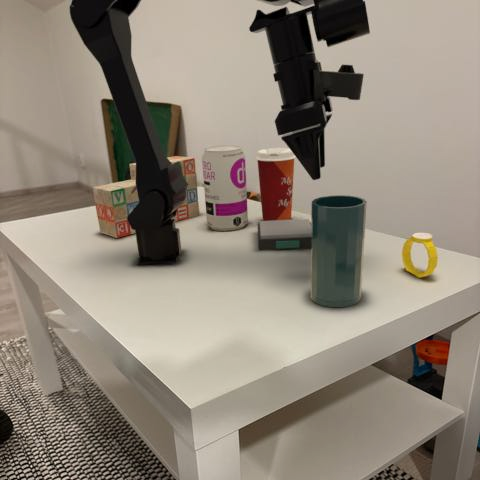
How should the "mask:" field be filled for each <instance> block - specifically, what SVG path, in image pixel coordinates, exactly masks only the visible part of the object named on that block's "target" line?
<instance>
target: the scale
mask: <svg viewBox="0 0 480 480" xmlns="http://www.w3.org/2000/svg"><path fill="white" fill-rule="evenodd" d="M257 242H258V244H257V245H258V251H270V250H271V251H273V250H294V249H297V250H299V249H311V221H310V219H309V218H301V219H300V218H299V219H297V218H296V219H291V220H273V221H263V220H259V223H258V224H257Z"/></svg>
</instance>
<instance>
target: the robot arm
mask: <svg viewBox="0 0 480 480" xmlns="http://www.w3.org/2000/svg"><path fill="white" fill-rule="evenodd" d="M257 1H258V2H261V3H264V4H267V5H270V6H274V7H280V6H284V7H281V8H279V9H276V10H273V11H271V12H268V13H265V12H263V11H262V10H260V9H257V10H256V12H255V16H254V19H253V21H251V24H250V25H249V28H248V29H249V32H250V33H252V34H259V33H262V32H265V35H266V39H267V44H268V47H269V52H270V55H271V60H272V65H273V69H274V73H273V74H272V75H273V79H274V82H275V83H277V85H278V91H279V94H280V98H281V102H282V104H281V105H280V109H281V110H280V111H279V112H278V114H277V116H276V118H275V119H274V125H275V128H276V132H277V136H281V140H282V142H284V144H286V146H287V148H290V150H291V151H292V152H293V154H294V155H295V156H296V158H295V159H297V160H298V161H299V163H300V164H301V166H302V167H303V168H304V170H305V171H306V173H307V174H308V175H309V177H310V178H311V180H313V181H316V180H320V179H321V178H322V173H321V168H324V167H325V166H326V141H325V140H326V139H325V138H326V136H325V135H326V134H325V132H326V131H325V129H326V127H327V126H328V123H329V122H330V120H331V118H332V117H333V113H331V112H333V110H334V109H333V105H332V101H331V98H343V99H345V98H347V99H348V100H350V101H360V100H361V94H362V89H363V83H364V82H363V81H364V77H365V74H364V73H360V72H355V71H356V70H355V68H354V65H353V64H341V66H340V67H339V68H338V70H337V71H334V70H333V71H330V70H323V69H322V68H323V67H322V64H321V61H318V59H317V57H316V52H315V47H314V42H313V37H312V33H311V28H310V23H309V18H308V16H309V15H311V19H312V24H313V29H314V33H315V38H316V41H317V42H318V43H320V42H322V41H324V42H325V43H326V47H327V48H330V47H334V46H337V45H340V44H342V43H345V42H349V41H352V40H355V39H357V38H361V37H363V36H367V35H370V34H371V31H370V23H369V17H368V11H367V6H366V0H256V2H257ZM141 2H142V0H71V3H70V5H69V15H70V19H71V20H70V21H71V22H72V24H73V26H74V28H75V30H76V32H77V34H78V36H79V38H80V39H81V41H82V44H83V45H84V46H85V48H86V49H87V50H88V51H89V52H90V54H91V55H92V57H94V59H95V60H96V62H98V64H99V66H100V68H101V71H102V73H103V76H104V79H105V81H106V84H107V87H108V90H109V93H110V95H111V99H112V101H113V103H114V106H115V109H116V112H117V115H118V118H119V120H120V123H121V126H122V129H123V133H124V134H125V137H126V139H127V142H128V145H129V149H130V150H131V154H132V156H133V159H134V163H136V189H137V194H138V199H139V203H138V204H137V206H136V207H135V208H134V209H133V210H132V212H131V213H130V214H129V215H128V217H127V220H128V222H129V224H130V226H131V228H132V229H133V230H135V232H136V233H135V238H136V247H137V252H138V259H137V261H136V264H137V265H138V266H139V265H140V266H141V265H160V264H161V265H165V264H176V263H177V261H178V259H179V257H180V256H181V254H182V241H181V233H180V232H181V231H180V228H178V227H176V222H175V219H172V218H173V217H175V216H176V214H177V210H178V208H179V207H180V206H181V205H182V204H183V202H184V200H185V198H186V188H185V187H186V186H188V183H187V182H186V180H185V179H184V176H183V173H182V167H181V164H180V161H178V162H176V163H174V164H172V163H171V162H170V161H169V159H168V158H167V155H166V154H165V152H164V150H163V147H162V144H161V142H160V139H159V136H158V131H157V130H156V126H155V124H154V121H153V116H152V114H151V112H150V108H149V105H148V101H147V100H146V97H145V93H144V91H143V88H142V85H141V82H140V79H139V76H138V73H137V70H136V67H135V64H134V60H133V57H132V29H131V25H130V19H129V18H130V17H131V15H132V14H133V13H134V12H135V11H136V9H138V7H139V5H140V3H141ZM289 3H293V4H295V5H299V6H301V7H304V8H303V9H300V10H297V11H294V12H290V10H289V8H288V7H287V6H285V5H287V4H289ZM308 6H309V7H308ZM305 7H306V8H305ZM327 113H328V114H327Z"/></svg>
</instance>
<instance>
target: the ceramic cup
mask: <svg viewBox="0 0 480 480" xmlns="http://www.w3.org/2000/svg"><path fill="white" fill-rule="evenodd" d="M310 218H311V221H310V222H311V248H310V299H311V300H312V302H314V303H315V304H317V305H319V306H323V307H328V308H346V307H350V306H351V307H352V306H353V305H357V303H359V302H360V300H361V295H362V285H363V270H364V252H365V238H366V237H365V236H366V222H367V221H366V219H367V200H366V199H365V198H363V197H359V196H354V195H346V194H344V195H342V194H339V195H338V194H337V195H325V196H320V197H317V198H314V199H313V200H311V217H310Z"/></svg>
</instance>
